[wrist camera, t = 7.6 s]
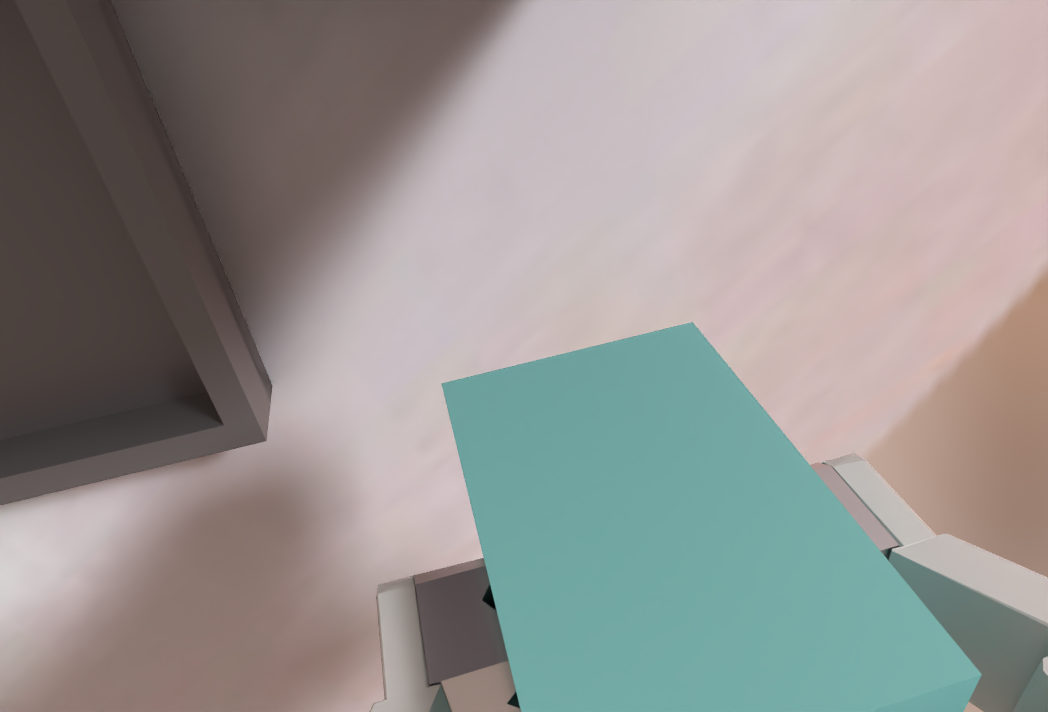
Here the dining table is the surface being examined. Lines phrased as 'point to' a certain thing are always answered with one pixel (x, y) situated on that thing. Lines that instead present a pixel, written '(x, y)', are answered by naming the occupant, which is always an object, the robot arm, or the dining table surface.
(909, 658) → the teal block
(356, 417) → the dining table surface
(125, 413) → the black tray
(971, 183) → the dining table surface
